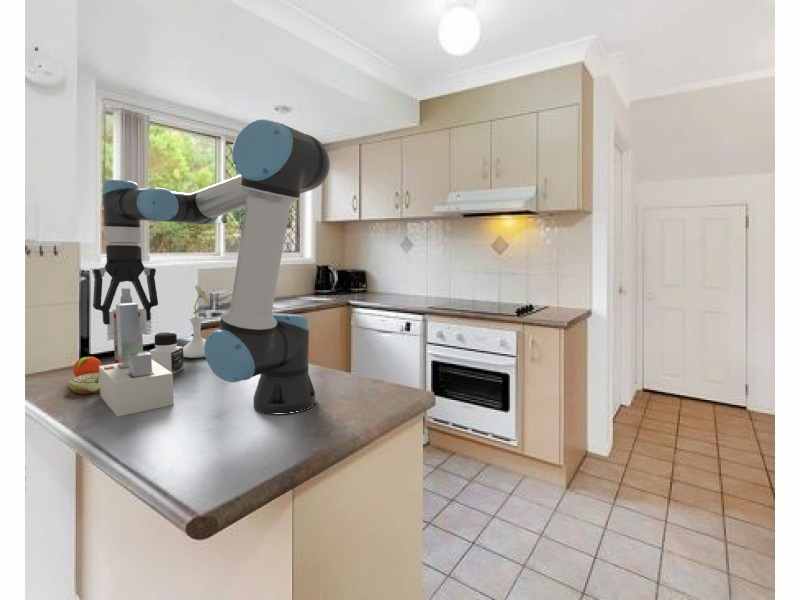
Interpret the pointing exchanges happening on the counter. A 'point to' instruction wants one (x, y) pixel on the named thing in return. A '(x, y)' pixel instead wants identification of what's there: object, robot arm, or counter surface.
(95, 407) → the counter surface
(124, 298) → the spray bottle
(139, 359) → the grey square peg
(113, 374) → the housing
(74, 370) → the clementine
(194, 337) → the flower in vase
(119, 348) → the upper square grey bar
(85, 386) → the decorated donut
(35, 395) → the counter surface
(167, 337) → the medicine bottle
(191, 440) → the counter surface
